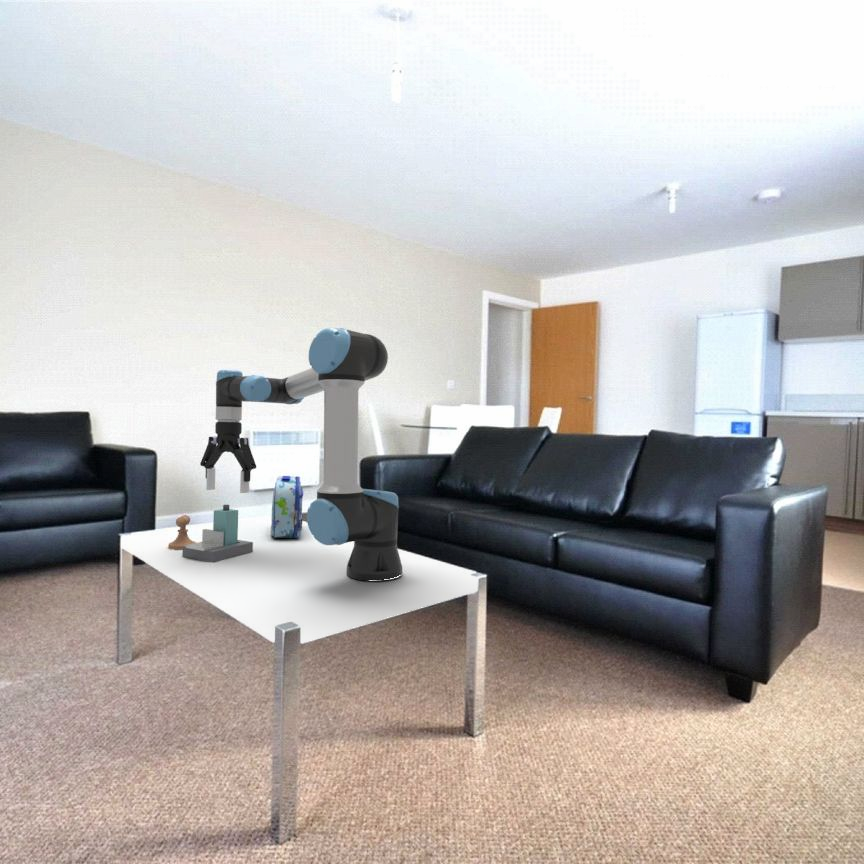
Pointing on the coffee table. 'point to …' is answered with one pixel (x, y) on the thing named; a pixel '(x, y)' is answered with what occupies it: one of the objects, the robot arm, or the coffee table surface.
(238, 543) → the socket
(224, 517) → the teal bottle
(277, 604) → the coffee table surface
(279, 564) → the coffee table surface
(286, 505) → the lunch box
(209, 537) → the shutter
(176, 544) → the brown chess pawn
